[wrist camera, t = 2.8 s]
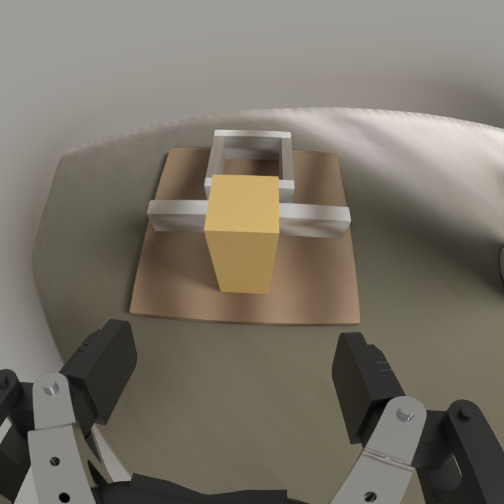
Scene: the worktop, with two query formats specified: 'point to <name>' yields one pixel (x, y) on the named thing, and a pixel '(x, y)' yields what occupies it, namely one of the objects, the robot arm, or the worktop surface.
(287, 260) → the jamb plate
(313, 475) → the worktop surface
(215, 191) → the block
